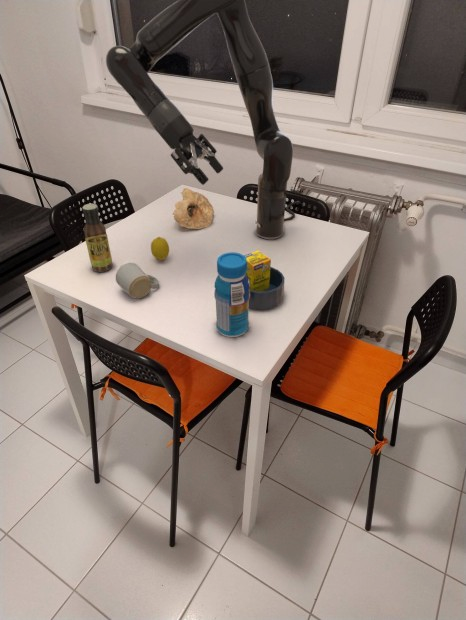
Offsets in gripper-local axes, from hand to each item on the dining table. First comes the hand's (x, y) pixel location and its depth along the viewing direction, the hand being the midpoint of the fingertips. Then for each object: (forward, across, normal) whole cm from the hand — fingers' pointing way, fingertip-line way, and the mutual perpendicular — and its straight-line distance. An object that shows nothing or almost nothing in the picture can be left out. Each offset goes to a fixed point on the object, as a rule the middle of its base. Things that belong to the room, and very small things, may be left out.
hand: (213, 176), depth 103 cm
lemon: (+7, -2, +33) cm, 34 cm away
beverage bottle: (+31, -22, +10) cm, 39 cm away
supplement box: (+30, -6, +9) cm, 32 cm away
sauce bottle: (-2, -13, +43) cm, 45 cm away
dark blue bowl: (+32, -7, +8) cm, 34 cm away
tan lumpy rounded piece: (+5, +26, +36) cm, 44 cm away
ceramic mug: (+10, -18, +31) cm, 37 cm away
